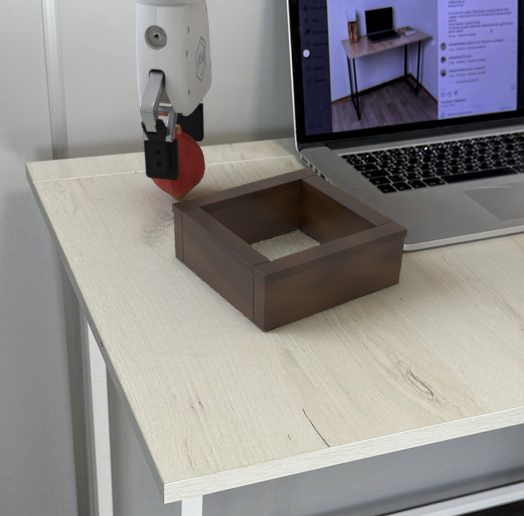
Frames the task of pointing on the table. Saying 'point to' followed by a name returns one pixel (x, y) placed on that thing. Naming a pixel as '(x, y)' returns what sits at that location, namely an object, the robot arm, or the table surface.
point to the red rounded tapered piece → (184, 167)
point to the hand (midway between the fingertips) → (176, 157)
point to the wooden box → (294, 265)
